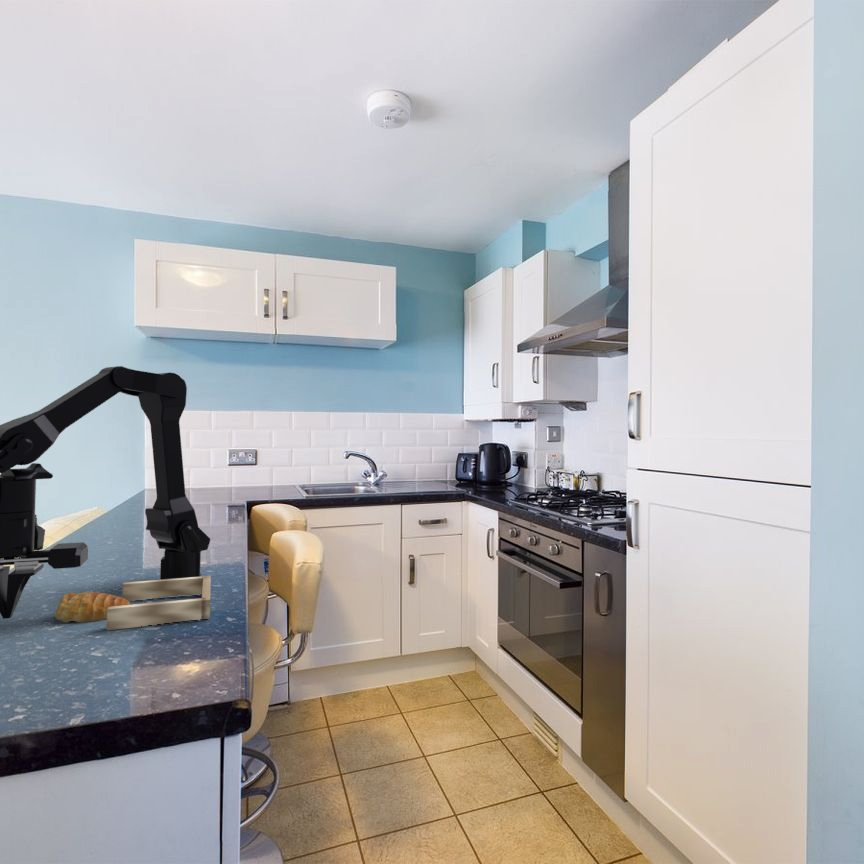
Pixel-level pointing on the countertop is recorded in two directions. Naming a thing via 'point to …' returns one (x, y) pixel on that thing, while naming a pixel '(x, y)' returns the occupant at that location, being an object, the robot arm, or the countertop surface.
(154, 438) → the robot arm
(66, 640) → the countertop surface
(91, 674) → the countertop surface
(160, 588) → the beige piece
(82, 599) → the pastry
